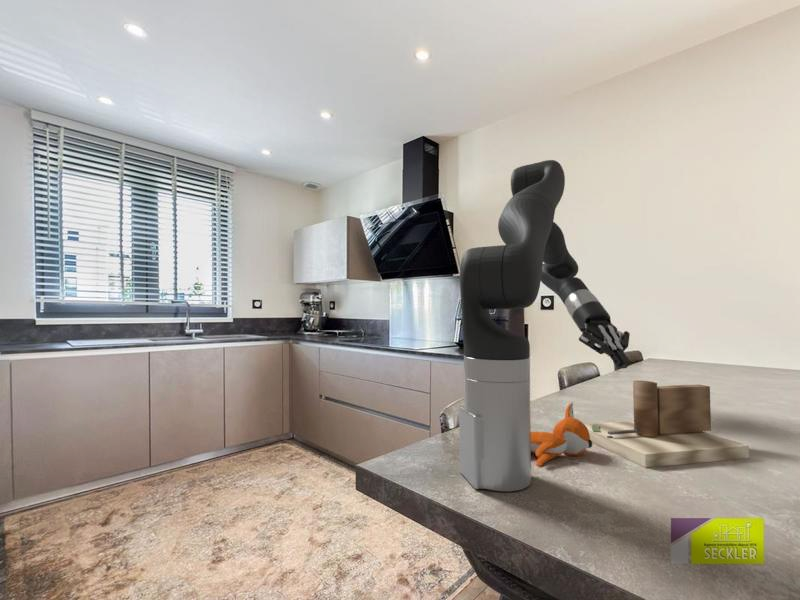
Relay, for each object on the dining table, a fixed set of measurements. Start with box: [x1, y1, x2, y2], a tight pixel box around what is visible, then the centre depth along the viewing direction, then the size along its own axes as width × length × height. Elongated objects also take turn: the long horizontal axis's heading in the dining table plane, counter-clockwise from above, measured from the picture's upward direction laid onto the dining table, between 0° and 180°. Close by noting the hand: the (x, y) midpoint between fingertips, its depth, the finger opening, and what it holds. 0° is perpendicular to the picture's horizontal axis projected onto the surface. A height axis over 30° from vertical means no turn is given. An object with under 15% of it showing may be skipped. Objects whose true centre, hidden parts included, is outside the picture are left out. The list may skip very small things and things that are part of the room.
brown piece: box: [608, 380, 712, 437], centre depth 69 cm, size 21×4×9 cm, turn 102°
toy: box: [531, 401, 593, 468], centre depth 68 cm, size 8×22×15 cm
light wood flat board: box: [583, 420, 750, 468], centre depth 68 cm, size 20×16×2 cm
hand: (625, 366), depth 84 cm, fingers closed
